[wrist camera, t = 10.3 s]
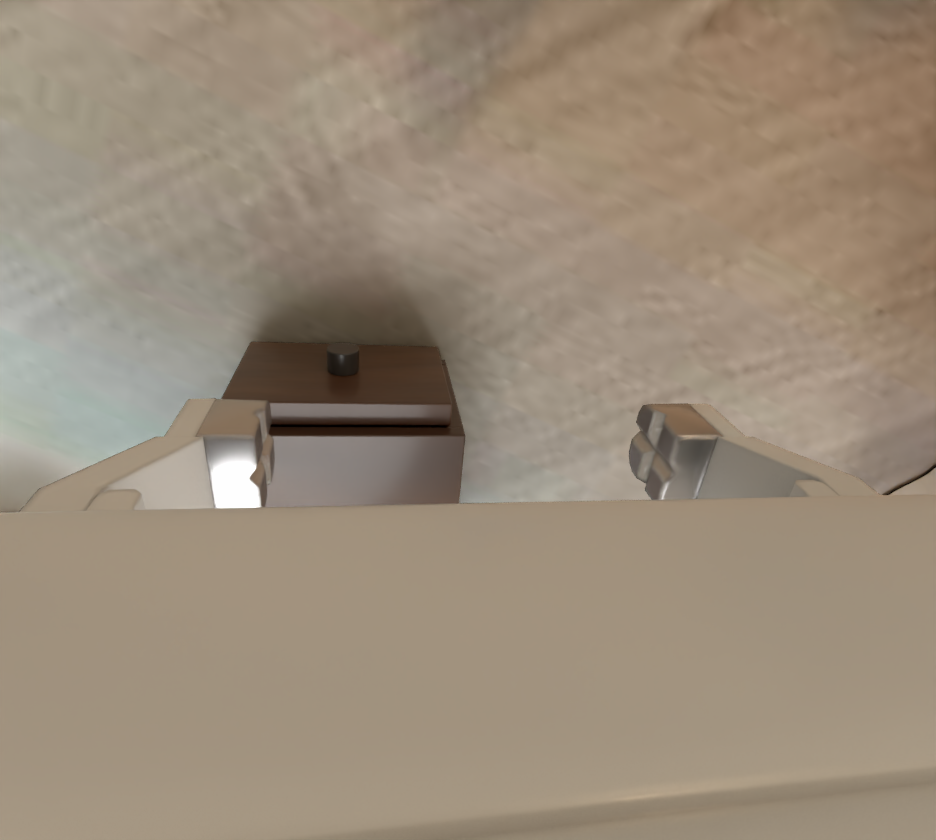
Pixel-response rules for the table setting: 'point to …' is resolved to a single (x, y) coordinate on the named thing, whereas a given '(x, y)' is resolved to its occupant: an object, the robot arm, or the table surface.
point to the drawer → (344, 384)
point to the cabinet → (368, 464)
